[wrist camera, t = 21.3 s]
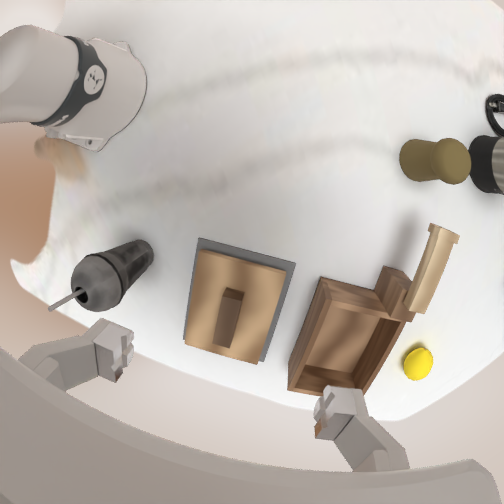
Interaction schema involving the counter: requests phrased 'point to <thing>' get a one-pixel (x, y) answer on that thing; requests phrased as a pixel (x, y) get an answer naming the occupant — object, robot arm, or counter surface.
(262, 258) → the mat
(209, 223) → the counter surface
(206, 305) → the lid
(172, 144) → the counter surface
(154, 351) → the counter surface
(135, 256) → the beverage cup
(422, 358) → the lemon
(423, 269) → the light wooden bar
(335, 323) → the brown wooden box
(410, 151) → the olive chess pawn
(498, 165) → the milk frother
